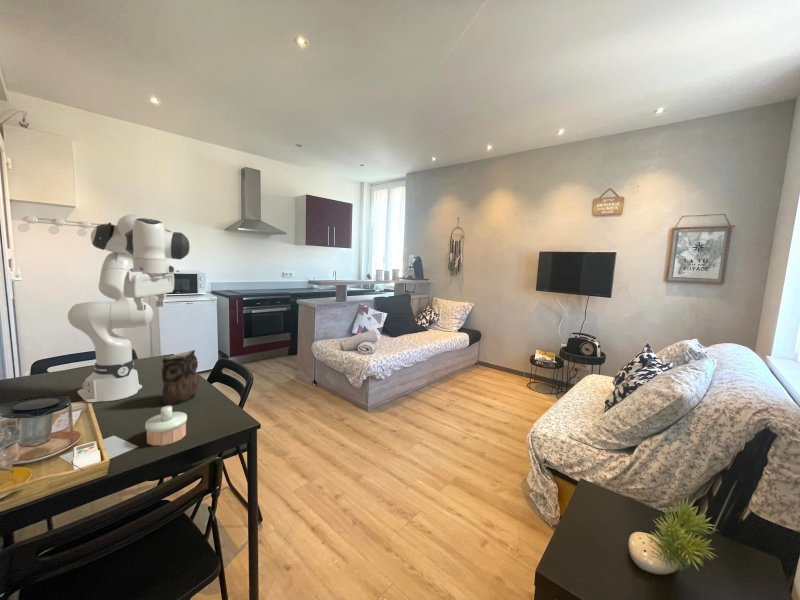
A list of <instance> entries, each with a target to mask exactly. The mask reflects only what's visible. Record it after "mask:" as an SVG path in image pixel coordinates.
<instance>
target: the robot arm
mask: <svg viewBox="0 0 800 600" xmlns="http://www.w3.org/2000/svg"><path fill="white" fill-rule="evenodd" d="M90 239H91V244H92V246H93V247H95V248H96V249H100V250H102V251H104V250H105V251H108V252H110V253H109V254H107V255H106V257H105V258H104V261H103V263H102V265H101V270H100V275H99V282H98V290H99V292H100V293H101V294H102V295H103V296H105V297H107V298H109V299H112V300H115V301H88V302H80V303H76V304H74V305H73V306H71V308H70V309H69V311H68V313H67V320H68V323H69V324H70V325H71V326H72V327H73V328H75V329H77V330H80V332H82V333H84V334H85V335H87V336H88V337H89V340H91V342H92V344H93V346H94V351H95V363H94V362H93V363H94V366H93V372H92V373H91V374H90V375H89V376H88V377H86V378H85V381H83V382H82V385H81V386H82V388H81V389H79V390H77V395H78V396H80V397H81V399H82V400H83V401H84V402H85V401H90V402H91V403H97V402H111V401H119V400H122V399H126V398H129V397H131V396H134V395H136V394H137V393H138V392H139V391H140V390H141V389H142V388H143V385H142V384H140V383H139V374H138V371H137V369H134V368H135V362H134V361H135V360H134V359H133V343H132V341H130V339H128V338H127V337H125V336H122V335H118V334H116V333H115V332H114V331H113V329H133V328H134V329H135V328H140V327H145V326H148V325H149V324H150V323H152V320H153V318H154V310H153V307H152V306H151V305H150V304H148V303H147V302H145V301H144V299H145V298H146V297H151V296H157V301H155V303H156V304H155V306H156V307H159V308H160V307H164V306H165V300H166V297H167V294H170V293H173V292H174V290H175V275H174V273H176V268H175V266H173V265H171V264H170V263H168V262H167V259H173V260H182V259H184V258H185V257H187V255H189V253H190V242H189V239H188V237H187V236H186V235H185V234H184V233H183V232H177V231H174V232H173V231H171V230H170V229H166V228H165V227H164V223H163V222H162V221H160V220H157V219H153V218H152V219H151V218H145V217H142V216H140V215H136V214H126V215H124V216H122V217H120V218H119V219H118V221H117V223H116V225H115V224H112V222H108V223H104V224H103V223H102V224H99V225H97V226H95V227H94V228H93V230H92V231H91V233H90Z"/></svg>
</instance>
